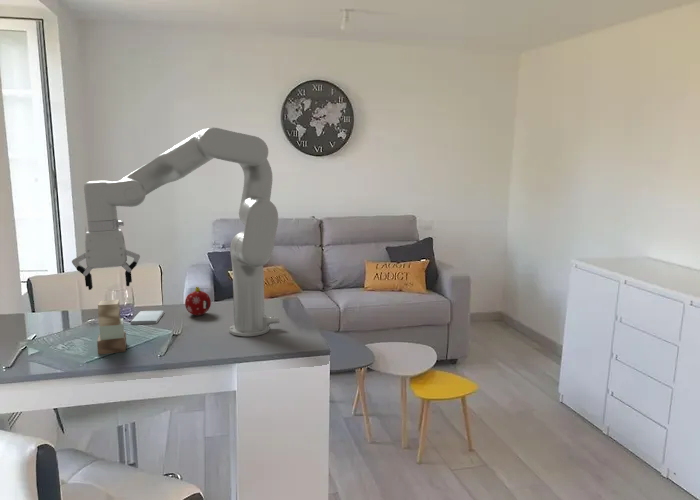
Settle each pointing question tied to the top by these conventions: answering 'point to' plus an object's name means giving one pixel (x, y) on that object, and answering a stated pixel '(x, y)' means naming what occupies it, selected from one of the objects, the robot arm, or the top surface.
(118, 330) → the tower top
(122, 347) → the tower bottom
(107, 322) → the oak block
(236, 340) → the top surface
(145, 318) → the hard drive
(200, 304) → the christmas ornament
